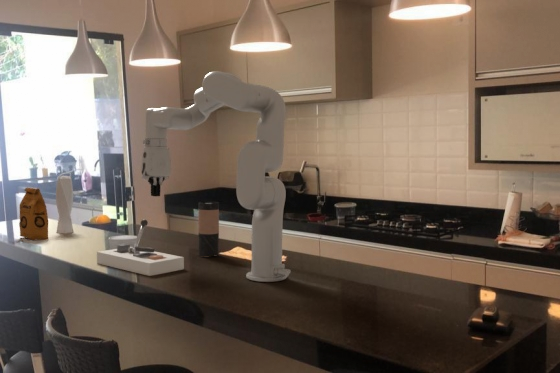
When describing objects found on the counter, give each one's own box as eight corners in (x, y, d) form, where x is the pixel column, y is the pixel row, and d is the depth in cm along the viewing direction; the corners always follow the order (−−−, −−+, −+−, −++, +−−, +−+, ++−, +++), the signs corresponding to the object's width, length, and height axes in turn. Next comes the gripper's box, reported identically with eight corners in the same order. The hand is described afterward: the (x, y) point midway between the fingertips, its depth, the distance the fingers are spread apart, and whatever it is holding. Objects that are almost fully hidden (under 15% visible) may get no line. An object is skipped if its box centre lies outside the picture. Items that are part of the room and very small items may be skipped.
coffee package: (28, 241, 241) (28, 189, 240) (17, 237, 250) (16, 187, 249) (52, 238, 249) (51, 188, 247) (39, 235, 257) (39, 186, 256)
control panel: (183, 269, 190) (183, 251, 190) (149, 275, 179) (149, 257, 179) (130, 257, 209) (130, 241, 208) (96, 263, 198) (96, 246, 197)
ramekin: (106, 249, 226) (105, 236, 225) (134, 247, 231) (134, 234, 230) (111, 254, 216) (111, 240, 215) (141, 252, 221) (141, 238, 220)
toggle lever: (138, 254, 195) (150, 221, 199) (132, 252, 194) (144, 218, 197) (133, 253, 197) (145, 220, 200) (128, 251, 195) (140, 218, 198)
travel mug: (215, 258, 210) (215, 203, 209) (195, 257, 211) (195, 203, 210) (221, 254, 217) (221, 201, 216) (202, 253, 219) (202, 201, 218)
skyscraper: (64, 231, 272) (63, 172, 270) (77, 231, 270) (77, 172, 268) (52, 233, 264) (52, 172, 262) (66, 234, 262) (65, 173, 260)
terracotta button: (166, 265, 188) (166, 256, 188) (155, 267, 185) (155, 257, 185) (157, 263, 191) (157, 254, 191) (146, 265, 188) (146, 256, 188)
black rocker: (153, 252, 193) (154, 248, 193) (141, 251, 189) (141, 247, 189) (148, 251, 195) (148, 247, 195) (135, 250, 191) (136, 246, 191)
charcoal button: (132, 253, 200) (132, 244, 200) (122, 255, 196) (121, 246, 196) (125, 252, 203) (125, 243, 202) (114, 254, 199) (114, 244, 199)
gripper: (145, 143, 192) (144, 198, 194) (179, 144, 204) (178, 195, 205) (131, 143, 197) (131, 196, 199) (166, 144, 209) (165, 194, 210)
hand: (155, 195), depth 202 cm, fingers closed
